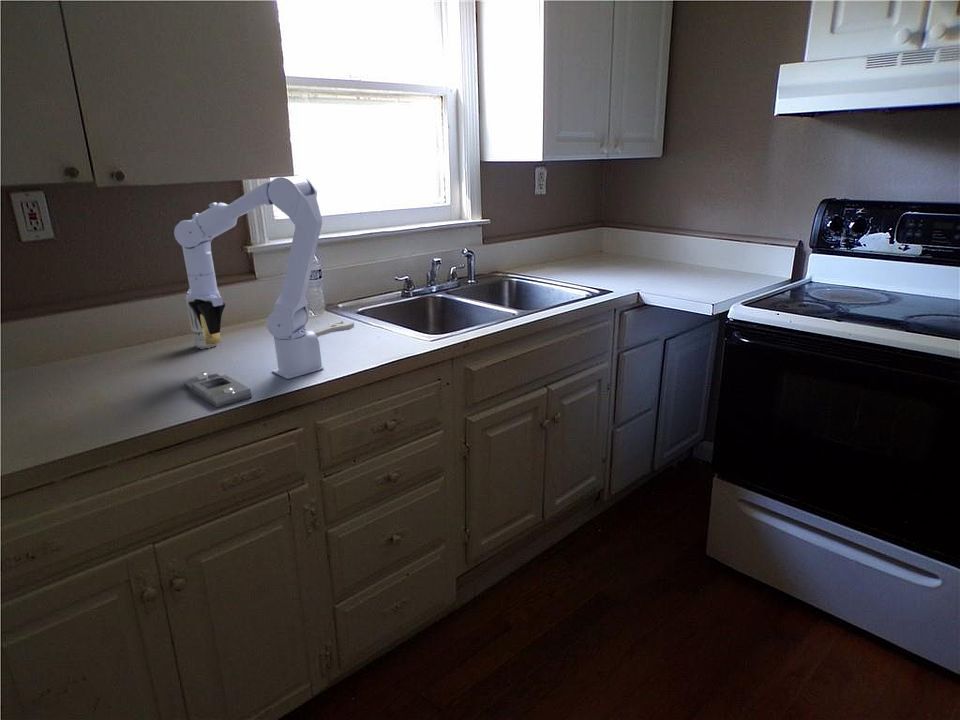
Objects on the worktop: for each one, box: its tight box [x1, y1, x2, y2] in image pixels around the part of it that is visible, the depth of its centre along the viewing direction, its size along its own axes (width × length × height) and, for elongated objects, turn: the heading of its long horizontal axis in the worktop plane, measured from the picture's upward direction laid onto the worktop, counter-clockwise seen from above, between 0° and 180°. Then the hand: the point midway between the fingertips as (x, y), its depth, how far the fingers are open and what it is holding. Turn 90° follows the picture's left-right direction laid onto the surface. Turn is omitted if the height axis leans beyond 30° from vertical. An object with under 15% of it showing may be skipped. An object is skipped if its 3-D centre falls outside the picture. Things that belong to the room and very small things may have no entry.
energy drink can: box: [185, 290, 217, 350], centre depth 165 cm, size 6×6×15 cm
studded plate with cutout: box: [182, 371, 252, 408], centre depth 135 cm, size 7×18×2 cm, turn 44°
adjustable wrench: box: [312, 320, 355, 337], centre depth 175 cm, size 25×6×2 cm, turn 138°
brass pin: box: [200, 313, 222, 345], centre depth 145 cm, size 4×4×7 cm
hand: (211, 331), depth 146 cm, fingers closed on brass pin, 4 cm apart
